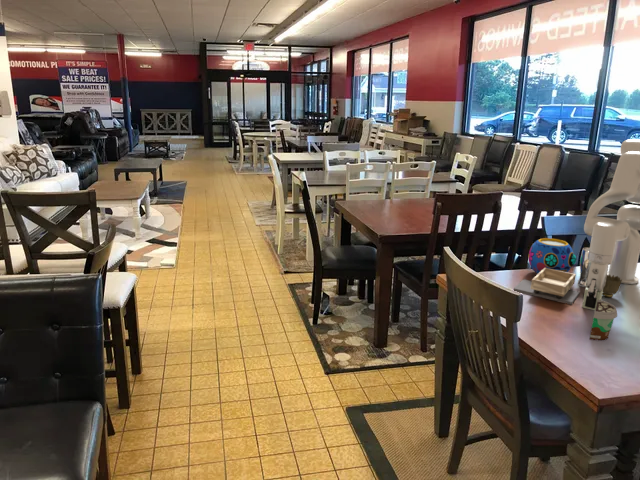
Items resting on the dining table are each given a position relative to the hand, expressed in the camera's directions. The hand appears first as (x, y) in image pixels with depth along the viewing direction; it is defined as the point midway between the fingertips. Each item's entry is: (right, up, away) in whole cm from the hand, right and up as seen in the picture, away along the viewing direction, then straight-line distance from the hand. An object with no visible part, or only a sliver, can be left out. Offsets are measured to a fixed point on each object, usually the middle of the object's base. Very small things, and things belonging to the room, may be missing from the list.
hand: (591, 304), depth 184 cm
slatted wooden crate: (-9, +4, +11) cm, 15 cm away
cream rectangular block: (0, -1, 0) cm, 1 cm away
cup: (+11, +1, +10) cm, 15 cm away
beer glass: (+9, +5, +21) cm, 24 cm away
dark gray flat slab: (-11, +3, +13) cm, 17 cm away
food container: (-9, -8, -22) cm, 25 cm away
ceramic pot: (-2, +8, +32) cm, 33 cm away
